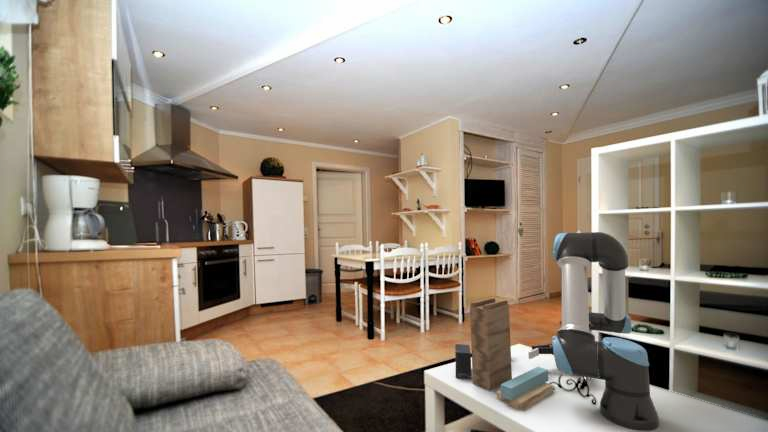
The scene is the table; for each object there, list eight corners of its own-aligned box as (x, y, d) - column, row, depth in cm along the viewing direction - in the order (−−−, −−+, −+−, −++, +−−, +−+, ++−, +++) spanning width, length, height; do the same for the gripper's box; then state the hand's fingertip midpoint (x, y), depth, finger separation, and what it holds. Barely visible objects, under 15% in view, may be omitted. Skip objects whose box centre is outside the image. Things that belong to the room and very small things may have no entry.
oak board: (553, 392, 126) (552, 385, 126) (522, 410, 114) (522, 402, 114) (527, 382, 134) (527, 376, 134) (496, 398, 122) (496, 391, 122)
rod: (548, 380, 130) (548, 369, 130) (511, 400, 115) (510, 388, 116) (538, 377, 133) (537, 366, 133) (501, 396, 119) (500, 384, 119)
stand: (511, 380, 136) (508, 300, 137) (490, 391, 128) (486, 306, 129) (494, 374, 142) (491, 297, 144) (472, 383, 134) (469, 302, 135)
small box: (472, 379, 138) (471, 352, 139) (455, 378, 140) (454, 352, 140) (470, 368, 149) (469, 344, 149) (455, 367, 150) (454, 343, 151)
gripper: (604, 365, 137) (580, 380, 124) (543, 349, 156) (517, 360, 144) (603, 346, 137) (578, 359, 124) (542, 332, 157) (516, 342, 144)
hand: (545, 360), depth 134 cm, fingers open, 13 cm apart
